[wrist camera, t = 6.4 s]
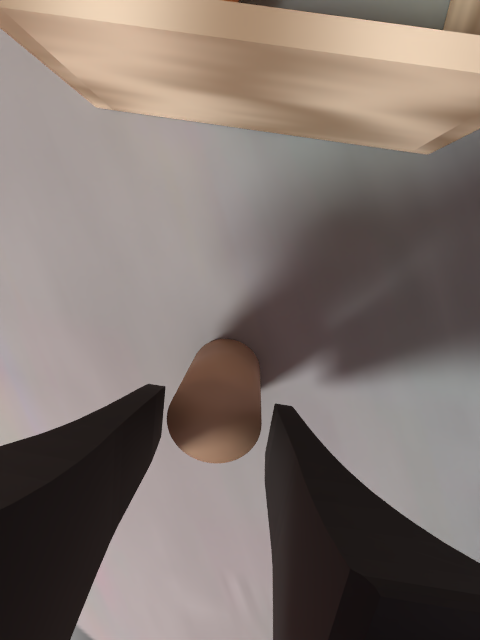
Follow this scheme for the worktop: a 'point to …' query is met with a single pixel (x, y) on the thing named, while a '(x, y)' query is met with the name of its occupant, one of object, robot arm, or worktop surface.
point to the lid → (218, 403)
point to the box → (264, 67)
